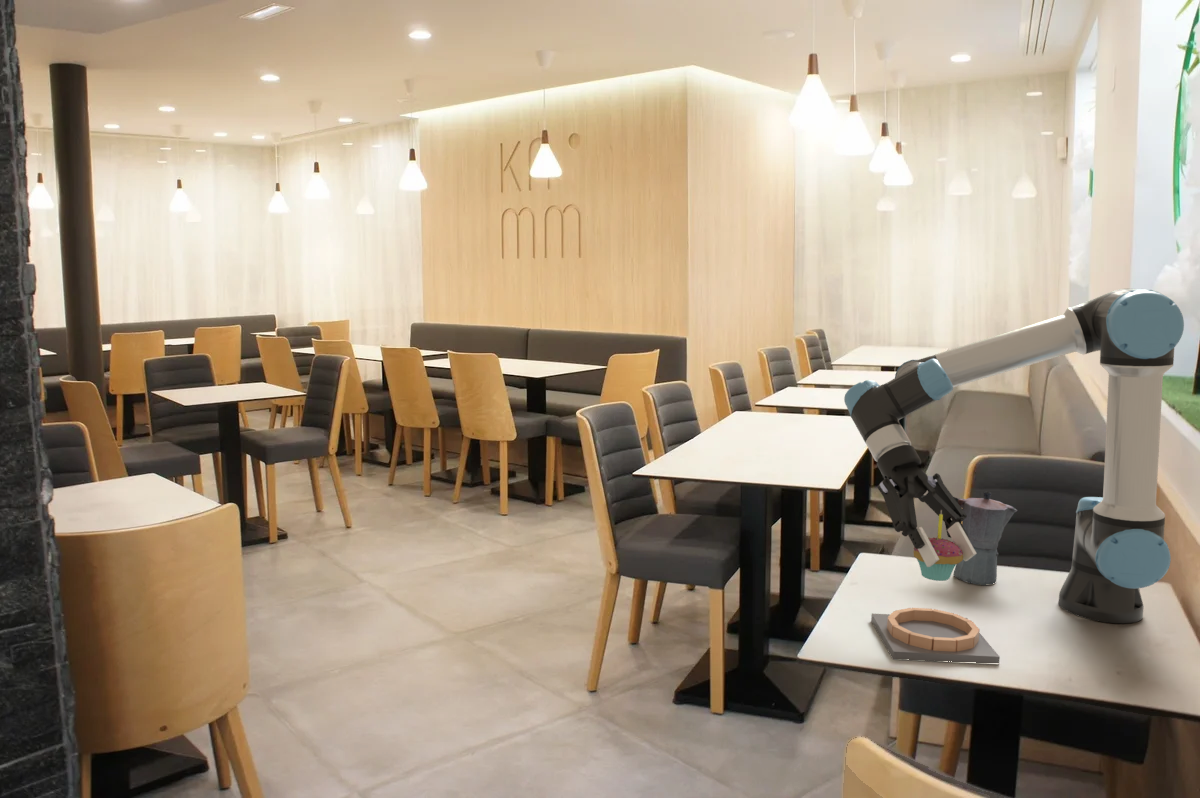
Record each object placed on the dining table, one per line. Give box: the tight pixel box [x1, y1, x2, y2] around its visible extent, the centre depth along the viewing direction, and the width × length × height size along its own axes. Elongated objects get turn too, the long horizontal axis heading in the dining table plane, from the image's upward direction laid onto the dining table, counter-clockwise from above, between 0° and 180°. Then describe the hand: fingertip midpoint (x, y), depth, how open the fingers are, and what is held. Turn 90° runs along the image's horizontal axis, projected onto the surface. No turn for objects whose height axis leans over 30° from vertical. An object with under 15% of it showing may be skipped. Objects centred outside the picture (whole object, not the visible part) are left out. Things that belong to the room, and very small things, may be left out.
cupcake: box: [913, 510, 963, 582], centre depth 170 cm, size 9×8×12 cm
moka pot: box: [944, 491, 1018, 586], centre depth 207 cm, size 10×15×20 cm, turn 78°
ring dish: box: [870, 607, 1001, 664], centre depth 173 cm, size 18×18×4 cm
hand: (952, 560), depth 168 cm, fingers closed on cupcake, 8 cm apart
